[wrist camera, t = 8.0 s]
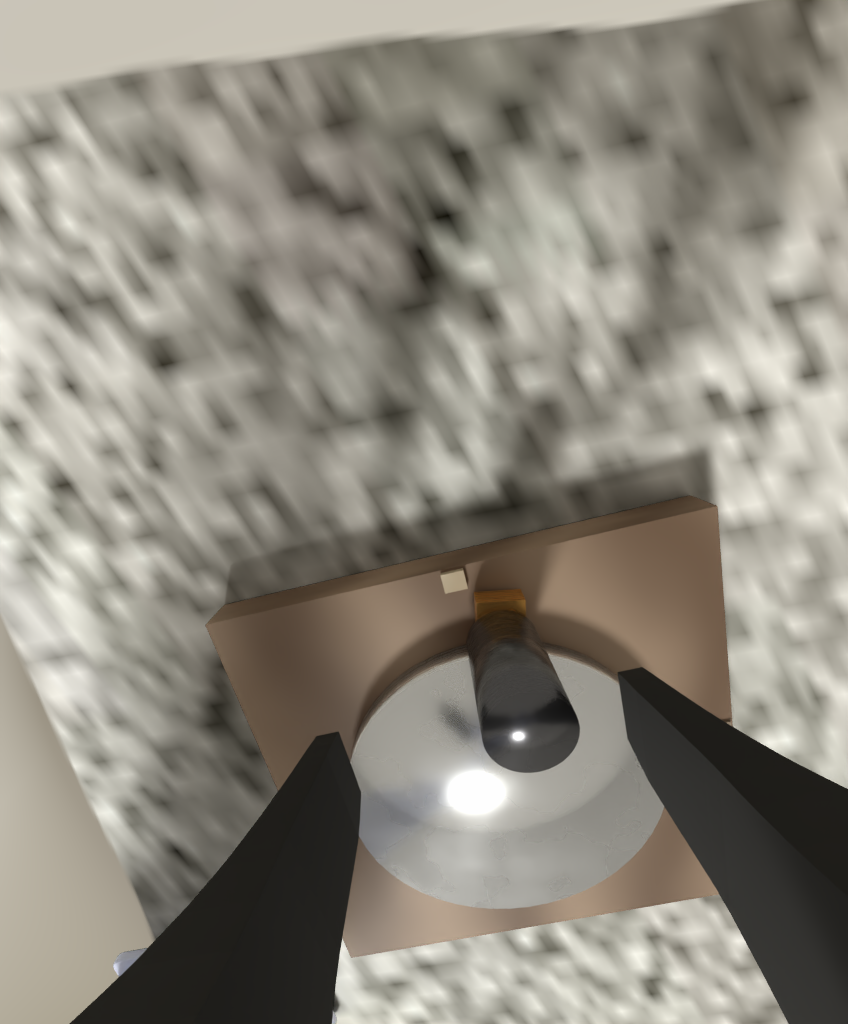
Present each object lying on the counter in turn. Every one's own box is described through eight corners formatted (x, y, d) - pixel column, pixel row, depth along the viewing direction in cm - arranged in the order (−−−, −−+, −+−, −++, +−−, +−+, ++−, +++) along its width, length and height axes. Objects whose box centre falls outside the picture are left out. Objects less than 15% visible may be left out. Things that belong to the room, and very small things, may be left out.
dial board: (355, 919, 22) (350, 962, 20) (224, 604, 17) (202, 628, 15) (721, 854, 20) (747, 895, 19) (690, 495, 16) (721, 507, 14)
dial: (645, 874, 19) (721, 1041, 14) (369, 889, 19) (350, 1058, 14) (671, 576, 15) (788, 664, 10) (324, 600, 15) (278, 697, 10)
